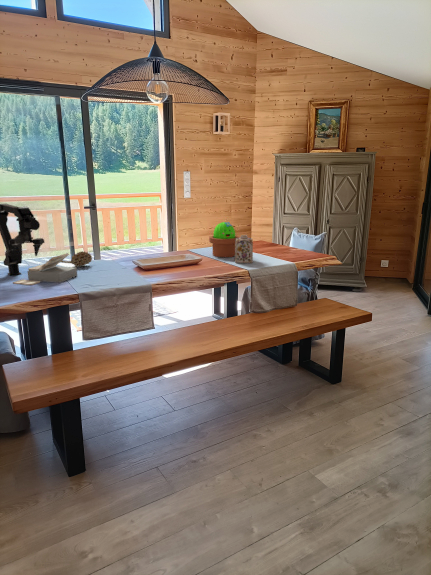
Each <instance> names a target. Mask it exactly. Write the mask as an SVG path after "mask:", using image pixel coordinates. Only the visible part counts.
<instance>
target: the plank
mask: <svg viewBox="0 0 431 575" xmlns="http://www.w3.org/2000/svg"><path fill="white" fill-rule="evenodd" d="M41 282H42V281H37V280H28V279H23V278H21V279H19V280H16V281H13V282H12V284H13V285H14V284H16V285H24V286H35V285H37V284H39V283H41Z"/></svg>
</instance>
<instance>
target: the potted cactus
mask: <svg viewBox="0 0 431 575" xmlns="http://www.w3.org/2000/svg"><path fill="white" fill-rule="evenodd" d="M208 237H209V240H208V241H209V244H212V256H214V257H216V258H232V257H235V240H236V238H240V237H241V236H239V235H236V230H235V227H234V226H233V225H232V224H231V223H230V221H223V222H219V223H218V224H217V225H216V226H215V227H214V230H213V235H210V236H208Z"/></svg>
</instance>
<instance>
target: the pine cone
mask: <svg viewBox="0 0 431 575" xmlns="http://www.w3.org/2000/svg"><path fill="white" fill-rule="evenodd" d="M92 261H93V256H92V255H91V254H90V253H88V251H79V252H77V253H74V254H73V255H72V256H71V259H70V260H69V261H68V260H62V261H61V262H60V263H62V264H63V263H64V264H71V265H73V266H74V267H75V266H76V267H75V268H77V267H83V266H86V265H89V264H90V263H91V262H92Z"/></svg>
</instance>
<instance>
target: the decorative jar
mask: <svg viewBox="0 0 431 575" xmlns="http://www.w3.org/2000/svg"><path fill="white" fill-rule="evenodd" d="M239 237H240V238H236V240H235V256H234V262H235V264H253V262H254V261H253V258H254V257H253V256H254V255H253V254H254V247H253V246H254V242H253V238H252V237H249V236H248V235H247V234H243V235H241V234H240V236H239Z"/></svg>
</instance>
